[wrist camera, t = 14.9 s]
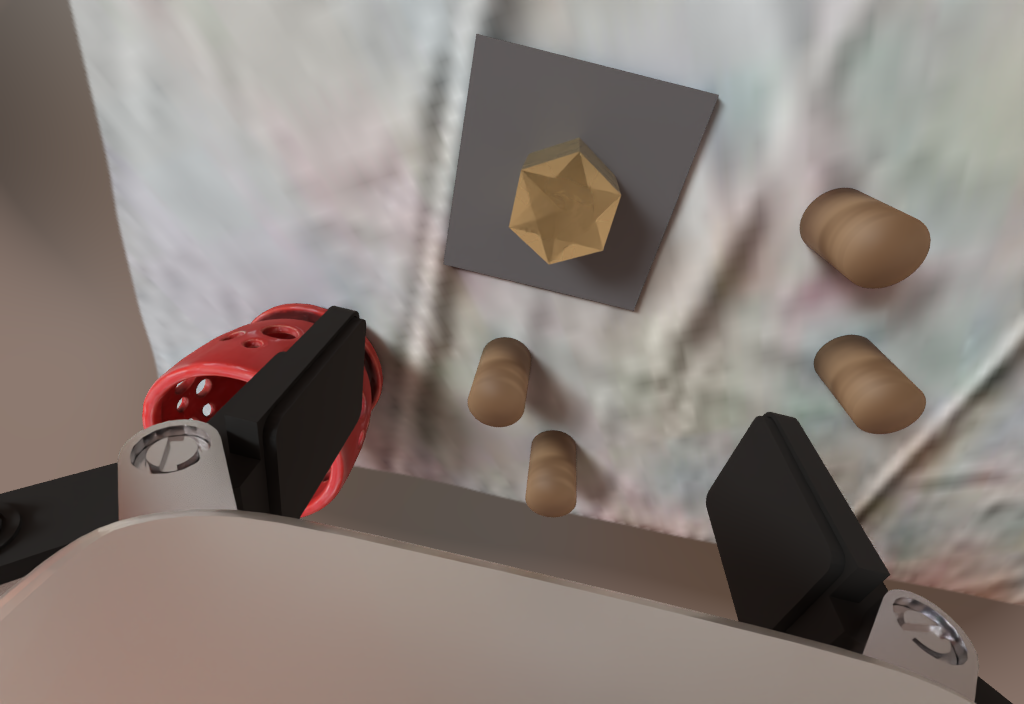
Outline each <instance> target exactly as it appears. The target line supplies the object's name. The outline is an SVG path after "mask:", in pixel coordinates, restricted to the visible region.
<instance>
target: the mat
mask: <svg viewBox="0 0 1024 704" xmlns="http://www.w3.org/2000/svg"><path fill="white" fill-rule="evenodd" d="M718 96H719V95H717V94H713V93H709V92H705V91H701V90H697V89H693V88H689V87H685V86H681V85H677V84H673V83H669V82H665V81H661V80H657V79H653V78H649V77H645V76H641V75H637V74H634V73H630V72H626V71H622V70H618V69H614V68H610V67H606V66H602V65H598V64H594V63H590V62H586V61H582V60H578V59H574V58H570V57H566V56H562V55H558V54H554V53H550V52H546V51H543V50H539V49H535V48H531V47H527V46H523V45H519V44H515V43H511V42H507V41H503V40H499V39H495V38H491V37H487V36H483V35H479V34H476V41H475V48H474V55H473V62H472V69H471V76H470V83H469V89H468V96H467V103H466V110H465V117H464V124H463V131H462V138H461V145H460V152H459V159H458V166H457V173H456V180H455V187H454V194H453V201H452V208H451V215H450V222H449V229H448V236H447V243H446V250H445V257H444V264H445V265H449V266H453V267H457V268H461V269H465V270H469V271H473V272H477V273H482V274H486V275H490V276H494V277H498V278H502V279H506V280H510V281H514V282H518V283H522V284H526V285H530V286H535V287H539V288H543V289H547V290H551V291H555V292H559V293H563V294H567V295H571V296H575V297H579V298H583V299H588V300H592V301H596V302H600V303H604V304H608V305H612V306H616V307H620V308H624V309H628V310H632V311H634V308H635V306H636V303H637V301H638V298H639V296H640V293H641V291H642V288H643V286H644V283H645V281H646V278H647V275H648V273H649V270H650V268H651V265H652V263H653V260H654V258H655V255H656V253H657V250H658V248H659V245H660V243H661V240H662V238H663V235H664V232H665V230H666V227H667V225H668V222H669V220H670V217H671V215H672V212H673V210H674V207H675V205H676V202H677V200H678V197H679V194H680V192H681V189H682V187H683V184H684V182H685V179H686V177H687V174H688V172H689V169H690V167H691V164H692V162H693V159H694V156H695V154H696V151H697V149H698V146H699V144H700V141H701V139H702V136H703V134H704V131H705V129H706V126H707V124H708V121H709V119H710V116H711V113H712V111H713V108H714V106H715V103H716V101H717V98H718ZM576 138H580V139H581V140H582V141H583V142H584V143H585V144H586V145H587V146H588V147H589V148H590V149H591V150H592V152H593V153H594V154H595V155H596V156H597V157H598V158H599V159H600V160H601V161H602V162H603V163H604V164H605V165H606V166H607V167H608V168H609V170H610V171H611V172H612V173H613V174H614V175H615V177H616V180H617V183H618V186H619V189H620V193H621V197H620V200H619V203H618V206H617V209H616V212H615V215H614V218H613V221H612V224H611V228H610V231H609V234H608V237H607V240H606V243H605V246H604V249H603V251H599V252H595V253H592V254H588V255H584V256H580V257H576V258H572V259H569V260H565V261H561V262H557V263H553V264H548V263H547V262H546V261H545V260H543V259H542V258H541V257H540V256H539V255H538V254H537V253H536V252H535V251H534V250H533V249H532V248H531V247H530V246H528V245H527V244H526V243H525V242H524V241H523V240H522V239H521V238H520V237H519V236H518V235H517V234H516V233H514V232H513V231H512V230H511V229H510V228H509V224H510V220H511V215H512V210H513V205H514V201H515V196H516V191H517V187H518V182H519V177H520V173H521V169H522V167H523V165H524V163H525V161H526V159H527V157H528V155H529V154H530V153H533V152H536V151H539V150H542V149H545V148H548V147H551V146H555V145H558V144H561V143H564V142H567V141H570V140H573V139H576Z"/></svg>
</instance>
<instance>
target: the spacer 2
mask: <svg viewBox="0 0 1024 704" xmlns="http://www.w3.org/2000/svg"><path fill="white" fill-rule="evenodd" d="M525 499H526V503H527V505H528V506H529V508H530V509H531V510H532V511H534V512H535V513H537V514H539V515H542V516H546V517H560V516H564V515H566V514H568V513H570V512H571V511H572V510H573V509H574V507H575V505H576V444H575V441H574V440H573V439H572V438H571V437H570V436H569V435H568V434H566V433H564V432H561V431H555V430H550V431H545V432H542V433H540V434H538V435H537V436H536V437H535V438H534V439H533V441H532V445H531V454H530V462H529V471H528V480H527V488H526V498H525Z"/></svg>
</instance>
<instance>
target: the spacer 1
mask: <svg viewBox="0 0 1024 704" xmlns="http://www.w3.org/2000/svg"><path fill="white" fill-rule="evenodd" d="M530 368H531V355H530V352H529V350H528V349H527V347H526V346H525V345H524V344H523V343H521V342H520V341H518V340H516V339H513V338H507V337H503V338H497V339H494V340H492V341H491V342H489V343H488V344H487V345H486V346H485V348H484V350H483V353H482V356H481V359H480V362H479V365H478V368H477V372H476V375H475V378H474V381H473V384H472V387H471V391H470V394H469V397H468V407H469V410H470V412H471V413H472V415H473V416H474V417H475V418H476V419H477V420H479V421H480V422H482V423H484V424H486V425H489V426H493V427H505V426H509V425H512V424H514V423H515V422H517V421H518V420H519V419H520V418H521V417H522V415H523V413H524V408H525V401H526V395H527V388H528V381H529V374H530Z"/></svg>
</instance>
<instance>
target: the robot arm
mask: <svg viewBox="0 0 1024 704" xmlns="http://www.w3.org/2000/svg"><path fill="white" fill-rule="evenodd" d="M365 336H366V321H365V320H364V319H360V318H359V313H358V312H357V311H353V310H349V309H345V308H341V307H337V306H332V307H330V308H329V309H328V310H327V311H326V312H325V313H324V314H323V315H322V316H321V317H320V318H319V319H318V320H317V321H316V322H315V323H314V324H313V325H312V326H311V327H310V328H309V329H308V330H307V331H306V332H305V333H304V334H303V335H302V336H301V337H300V338H299V339H298V340H297V341H296V342H295V343H294V344H293V345H292V347H291V348H290V349H289V350H288V351H287V352H285V351H282V352H279V353H277V354H276V355H275V356H274V357H273V358H272V359H271V360H270V361H269V362H268V363H267V364H266V365H265V366H264V367H263V368H261V369H260V370H259V371H258V372H257V373H256V374H255V375H254V376H253V377H252V378H251V379H250V380H249V381H248V382H247V383H246V384H245V385H244V386H243V387H242V388H241V389H240V390H239V391H238V392H237V393H236V394H235V395H234V396H233V397H232V398H231V399H230V400H229V401H228V402H227V403H226V404H225V405H224V406H223V407H222V408H221V409H220V410H219V411H218V412H217V413H216V414H215V415H214V416H213V417H212V418H211V419H210V420H209V421H208V422H207V423H204V422H201V421H198V420H186V419H181V420H172V421H166V422H163V423H159V424H156V425H152V426H150V427H148V428H146V429H144V430H142V431H140V432H138V433H137V434H136V435H134V436H133V437H132V438H130V439H129V440H128V441H127V442H126V443H125V445H124V446H123V447H122V448H121V450H120V453H119V457H118V463H114V464H110V465H107V466H103V467H99V468H96V469H92V470H88V471H84V472H80V473H77V474H73V475H69V476H65V477H62V478H58V479H54V480H51V481H47V482H43V483H39V484H36V485H32V486H28V487H25V488H21V489H17V490H13V491H10V492H6V493H2V494H0V704H1012V703H1011V702H1010V701H1009V700H1007V699H1006V698H1005V697H1003V696H1002V695H1001V694H1000V693H999V692H997V691H996V690H995V689H994V688H992V687H991V686H990V685H989V684H987V683H986V682H985V681H983V680H982V679H981V678H980V677H978V669H979V663H978V655H977V653H976V651H975V649H974V646H973V644H972V642H971V641H970V640H969V638H968V637H967V635H966V634H965V633H964V631H963V630H962V629H961V628H960V627H959V626H958V625H957V623H956V622H954V621H953V619H952V618H951V617H950V616H949V615H947V614H946V613H945V612H944V611H942V610H941V609H940V608H939V607H937V606H936V605H935V604H933V603H931V602H930V601H928V600H927V599H925V598H923V597H922V596H919V595H917V594H914V593H912V592H910V591H905V590H900V589H895V590H891V591H888V590H887V588H886V586H885V585H884V583H883V581H884V580H885V579H886V578H887V577H888V576H889V575H890V573H889V572H888V570H887V568H886V567H885V565H884V563H883V562H882V560H881V558H880V557H879V555H878V553H877V552H876V550H875V548H874V547H873V545H872V543H871V542H870V540H869V538H868V537H867V535H866V533H865V532H864V530H863V528H862V527H861V525H860V523H859V522H858V520H857V518H856V517H855V515H854V513H853V512H852V510H851V508H850V507H849V505H848V503H847V502H846V500H845V498H844V497H843V495H842V493H841V492H840V490H839V488H838V487H837V485H836V483H835V482H834V480H833V478H832V477H831V475H830V473H829V472H828V470H827V468H826V467H825V465H824V463H823V462H822V460H821V458H820V457H819V455H818V453H817V452H816V450H815V448H814V447H813V445H812V443H811V442H810V440H809V438H808V437H807V435H806V433H805V432H804V430H803V428H802V427H801V425H800V423H799V422H798V421H797V419H796V418H793V417H789V416H785V415H781V414H777V413H773V412H767V413H766V414H764V415H763V416H758V417H756V418H755V419H754V421H753V422H752V424H751V425H750V427H749V428H748V430H747V432H746V433H745V435H744V436H743V438H742V439H741V441H740V443H739V444H738V446H737V447H736V449H735V450H734V452H733V454H732V455H731V457H730V458H729V460H728V462H727V463H726V465H725V466H724V468H723V469H722V471H721V473H720V474H719V476H718V477H717V479H716V480H715V482H714V484H713V485H712V487H711V488H710V490H709V492H708V494H707V498H706V507H707V511H708V514H709V518H710V521H711V525H712V528H713V532H714V535H715V539H716V542H717V546H718V549H719V553H720V557H721V560H722V564H723V567H724V570H725V574H726V578H727V581H728V585H729V588H730V592H731V596H732V599H733V603H734V606H735V610H736V613H737V617H738V620H739V621H735V620H730V619H726V618H722V617H718V616H714V615H709V614H705V613H702V612H698V611H693V610H689V609H685V608H681V607H677V606H673V605H669V604H665V603H661V602H657V601H652V600H649V599H644V598H640V597H636V596H632V595H627V594H624V593H619V592H615V591H611V590H607V589H603V588H598V587H594V586H590V585H586V584H582V583H578V582H573V581H569V580H565V579H561V578H557V577H552V576H548V575H544V574H540V573H536V572H531V571H527V570H523V569H518V568H514V567H510V566H506V565H502V564H497V563H493V562H489V561H484V560H480V559H476V558H472V557H468V556H463V555H459V554H455V553H450V552H446V551H442V550H437V549H433V548H429V547H424V546H420V545H416V544H411V543H407V542H403V541H399V540H394V539H390V538H386V537H382V536H377V535H372V534H368V533H363V532H358V531H354V530H349V529H344V528H340V527H335V526H330V525H326V524H321V523H317V522H312V521H307V520H302V519H300V517H301V515H302V514H303V512H304V510H305V509H306V507H307V505H308V504H309V502H310V500H311V499H312V497H313V495H314V494H315V492H316V490H317V489H318V487H319V485H320V484H321V482H322V480H323V479H324V477H325V475H326V474H327V472H328V471H329V469H330V467H331V466H332V464H333V462H334V461H335V459H336V457H337V456H338V454H339V452H340V451H341V449H342V447H343V446H344V444H345V442H346V441H347V439H348V437H349V436H350V434H351V432H352V431H353V429H354V427H355V426H356V424H357V422H358V420H359V418H360V415H361V410H362V396H363V376H364V356H365Z"/></svg>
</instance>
